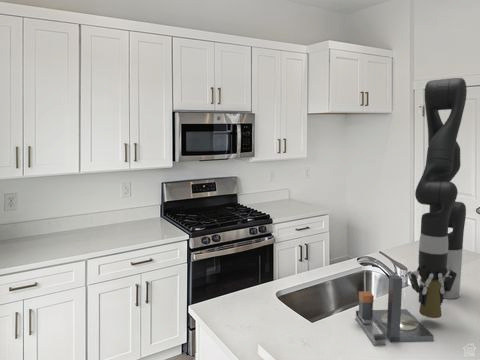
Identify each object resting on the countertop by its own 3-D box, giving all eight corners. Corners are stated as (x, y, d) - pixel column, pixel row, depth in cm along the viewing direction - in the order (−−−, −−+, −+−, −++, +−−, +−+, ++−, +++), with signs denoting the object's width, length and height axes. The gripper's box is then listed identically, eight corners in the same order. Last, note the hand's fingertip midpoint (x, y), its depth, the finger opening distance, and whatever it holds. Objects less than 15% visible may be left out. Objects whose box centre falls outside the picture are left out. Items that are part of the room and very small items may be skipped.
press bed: (368, 314, 121) (370, 259, 118) (406, 313, 121) (408, 258, 119) (390, 342, 105) (393, 278, 103) (433, 340, 105) (437, 277, 103)
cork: (434, 307, 117) (436, 273, 116) (446, 317, 111) (448, 281, 110) (415, 308, 117) (416, 274, 116) (425, 318, 111) (427, 282, 110)
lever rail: (355, 318, 118) (355, 310, 118) (365, 318, 118) (365, 310, 118) (374, 345, 103) (374, 336, 103) (385, 345, 103) (385, 335, 103)
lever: (357, 315, 116) (357, 290, 115) (367, 315, 116) (368, 290, 115) (363, 323, 111) (363, 297, 110) (373, 323, 111) (374, 297, 110)
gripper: (449, 244, 115) (446, 298, 118) (403, 245, 115) (401, 299, 117) (465, 252, 108) (461, 309, 110) (415, 254, 107) (413, 311, 110)
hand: (430, 304), depth 114 cm, fingers closed on cork, 4 cm apart
